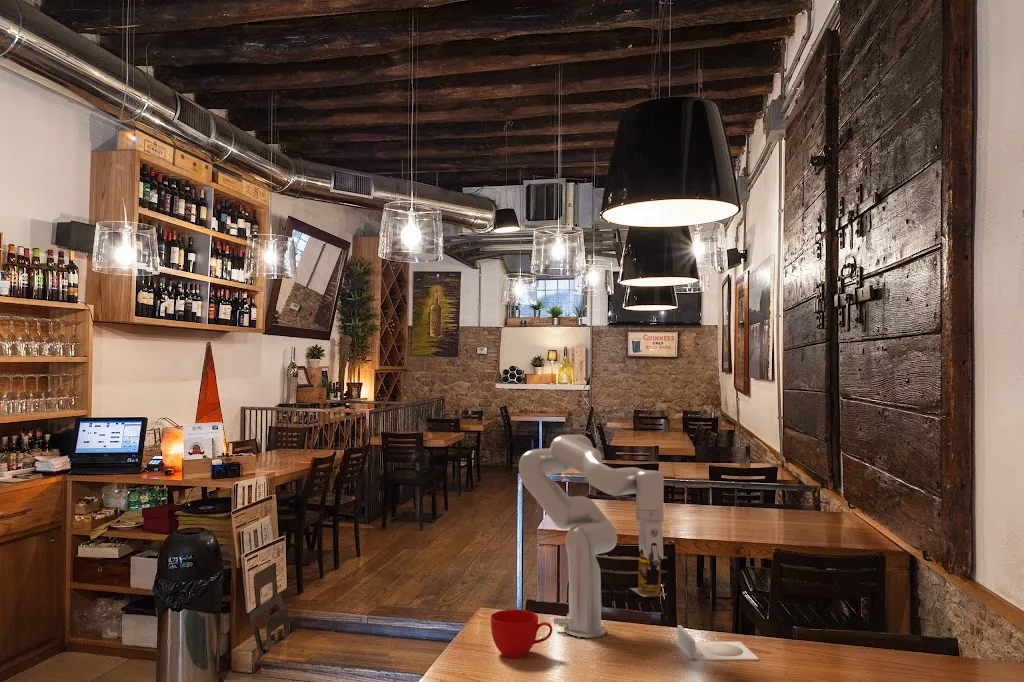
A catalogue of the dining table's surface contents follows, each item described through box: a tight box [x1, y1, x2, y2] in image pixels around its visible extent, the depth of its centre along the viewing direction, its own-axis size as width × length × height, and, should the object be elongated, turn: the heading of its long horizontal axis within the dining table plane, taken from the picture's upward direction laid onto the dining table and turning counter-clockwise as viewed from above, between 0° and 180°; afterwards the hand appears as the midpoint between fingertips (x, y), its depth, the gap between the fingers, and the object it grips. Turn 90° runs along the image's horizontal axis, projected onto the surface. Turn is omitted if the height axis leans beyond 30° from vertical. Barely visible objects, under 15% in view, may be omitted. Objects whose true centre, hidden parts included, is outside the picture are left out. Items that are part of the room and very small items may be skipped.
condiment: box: [629, 549, 668, 598], centre depth 198 cm, size 7×8×12 cm
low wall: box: [673, 624, 700, 662], centre depth 195 cm, size 3×14×5 cm, turn 2°
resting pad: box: [695, 641, 760, 662], centre depth 196 cm, size 14×14×1 cm
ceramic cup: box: [490, 609, 553, 659], centre depth 193 cm, size 13×17×10 cm
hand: (649, 580), depth 197 cm, fingers closed on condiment, 6 cm apart
